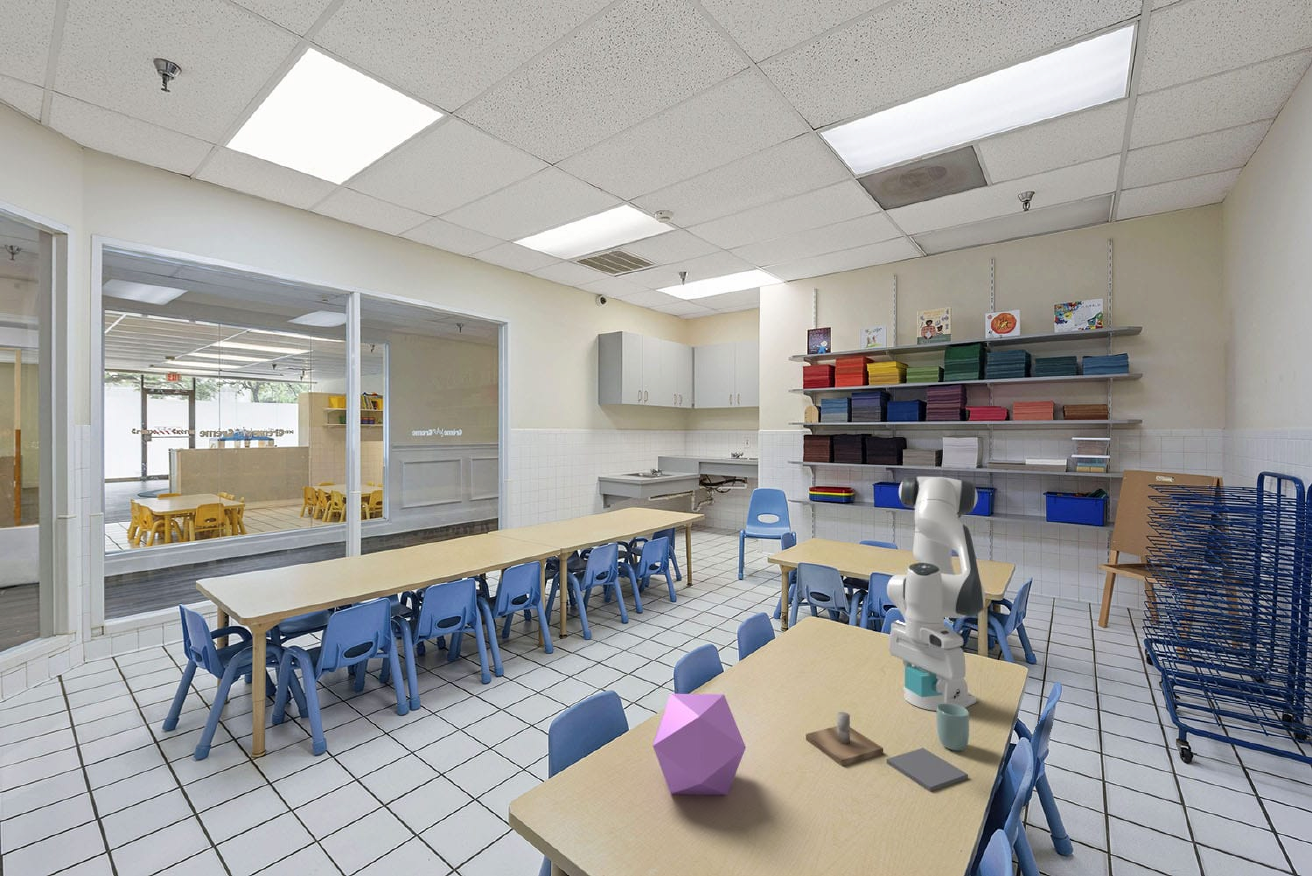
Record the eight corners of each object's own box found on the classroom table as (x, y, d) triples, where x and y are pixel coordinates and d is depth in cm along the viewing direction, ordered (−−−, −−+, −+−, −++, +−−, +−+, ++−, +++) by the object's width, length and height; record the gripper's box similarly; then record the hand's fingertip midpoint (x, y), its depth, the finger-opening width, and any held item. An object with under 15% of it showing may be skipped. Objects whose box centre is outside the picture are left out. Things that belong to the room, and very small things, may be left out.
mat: (923, 751, 148) (923, 747, 148) (967, 778, 136) (967, 774, 136) (886, 762, 142) (886, 758, 142) (930, 791, 130) (930, 787, 130)
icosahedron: (655, 721, 150) (654, 669, 135) (734, 722, 149) (741, 670, 135) (653, 815, 132) (651, 768, 117) (743, 817, 131) (752, 770, 117)
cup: (966, 741, 152) (966, 705, 153) (972, 756, 145) (972, 718, 145) (934, 737, 155) (934, 700, 155) (939, 751, 148) (938, 713, 148)
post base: (845, 729, 159) (845, 699, 159) (883, 753, 147) (883, 721, 147) (805, 739, 154) (805, 708, 154) (841, 765, 141) (841, 732, 141)
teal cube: (904, 687, 142) (904, 666, 142) (924, 685, 143) (924, 664, 143) (921, 697, 136) (921, 675, 136) (942, 694, 137) (942, 673, 137)
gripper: (882, 619, 148) (883, 671, 148) (951, 644, 129) (951, 704, 129) (900, 616, 150) (900, 668, 150) (969, 640, 132) (970, 699, 132)
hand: (924, 685), depth 139 cm, fingers closed on teal cube, 6 cm apart
